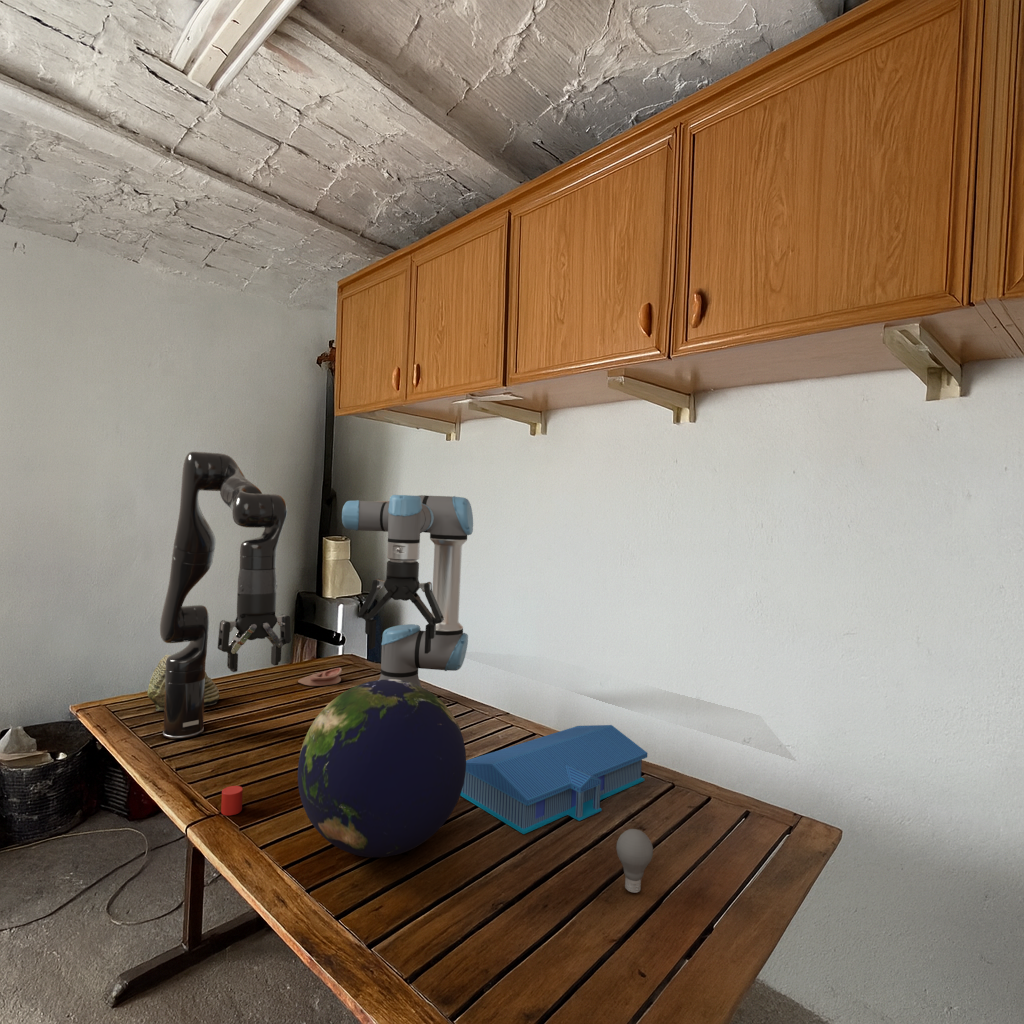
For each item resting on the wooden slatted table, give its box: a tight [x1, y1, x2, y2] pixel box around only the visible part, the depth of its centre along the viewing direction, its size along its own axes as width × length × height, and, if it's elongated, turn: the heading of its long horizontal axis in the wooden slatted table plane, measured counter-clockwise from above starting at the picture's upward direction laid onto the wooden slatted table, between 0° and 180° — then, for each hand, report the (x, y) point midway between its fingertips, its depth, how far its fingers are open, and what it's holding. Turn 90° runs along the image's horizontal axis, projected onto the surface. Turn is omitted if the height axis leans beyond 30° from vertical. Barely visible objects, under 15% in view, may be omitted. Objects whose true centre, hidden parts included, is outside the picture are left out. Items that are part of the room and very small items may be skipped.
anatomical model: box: [297, 667, 343, 687], centre depth 214 cm, size 13×4×12 cm
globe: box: [297, 679, 467, 858], centre depth 116 cm, size 30×30×30 cm
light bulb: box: [615, 828, 654, 894], centre depth 106 cm, size 6×6×10 cm
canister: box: [220, 785, 244, 817], centre depth 126 cm, size 4×4×4 cm
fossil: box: [147, 654, 221, 712], centre depth 185 cm, size 9×18×15 cm, turn 132°
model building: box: [460, 724, 649, 835], centre depth 142 cm, size 39×24×10 cm, turn 132°
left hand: (254, 667), depth 131 cm, fingers open, 8 cm apart
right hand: (399, 650), depth 149 cm, fingers open, 13 cm apart
